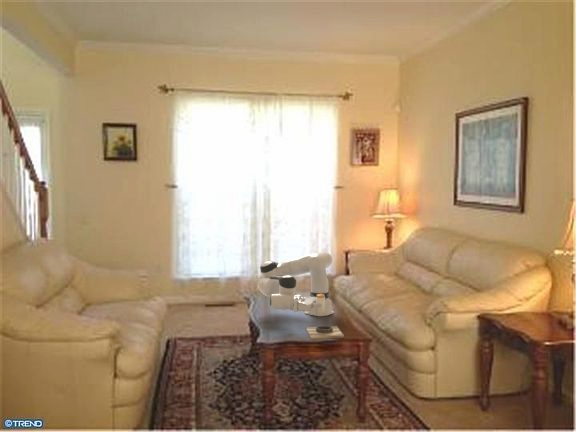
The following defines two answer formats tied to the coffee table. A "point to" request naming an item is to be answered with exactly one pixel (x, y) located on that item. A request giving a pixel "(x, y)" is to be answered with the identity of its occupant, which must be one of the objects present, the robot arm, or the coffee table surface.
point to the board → (324, 332)
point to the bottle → (321, 300)
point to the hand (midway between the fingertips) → (322, 304)
